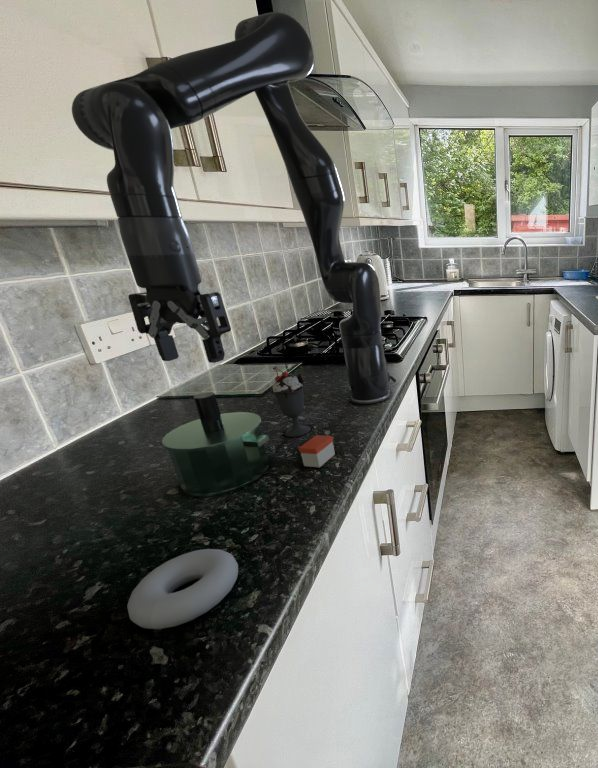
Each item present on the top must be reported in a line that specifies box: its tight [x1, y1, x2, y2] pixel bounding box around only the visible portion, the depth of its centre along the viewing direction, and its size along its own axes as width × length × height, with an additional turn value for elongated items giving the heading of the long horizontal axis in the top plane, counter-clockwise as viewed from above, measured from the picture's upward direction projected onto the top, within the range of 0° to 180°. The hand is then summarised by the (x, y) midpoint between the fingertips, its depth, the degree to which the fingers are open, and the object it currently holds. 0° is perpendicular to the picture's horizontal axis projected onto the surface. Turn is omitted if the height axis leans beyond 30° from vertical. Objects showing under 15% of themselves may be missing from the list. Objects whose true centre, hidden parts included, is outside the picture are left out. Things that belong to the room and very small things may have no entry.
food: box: [298, 434, 336, 468], centre depth 75 cm, size 5×3×4 cm
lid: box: [161, 391, 262, 452], centre depth 67 cm, size 14×14×7 cm
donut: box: [126, 548, 239, 630], centre depth 46 cm, size 10×4×10 cm
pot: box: [165, 425, 270, 498], centre depth 70 cm, size 13×18×8 cm
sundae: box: [269, 366, 312, 438], centre depth 84 cm, size 7×7×15 cm
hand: (193, 360), depth 64 cm, fingers open, 8 cm apart
